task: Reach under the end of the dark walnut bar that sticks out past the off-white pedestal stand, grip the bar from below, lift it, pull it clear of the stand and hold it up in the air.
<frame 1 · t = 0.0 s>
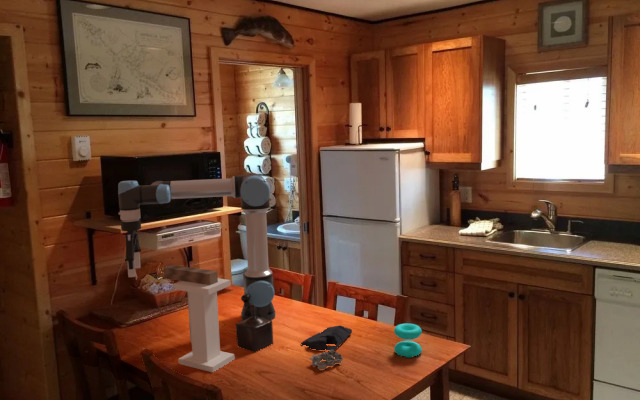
hand: (134, 272, 218), 28 cm above the table, tool pointing down, fingers open, 13 cm apart
walnut bar: (190, 280, 198), point 30 cm above the table, touching pedestal stand
pepper mill: (251, 343, 215), on the table
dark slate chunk: (328, 342, 216), on the table
paper towel roll: (202, 341, 218), on the table
pedestal stand: (206, 361, 199), on the table
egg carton: (326, 365, 194), on the table
donuts: (408, 353, 202), on the table
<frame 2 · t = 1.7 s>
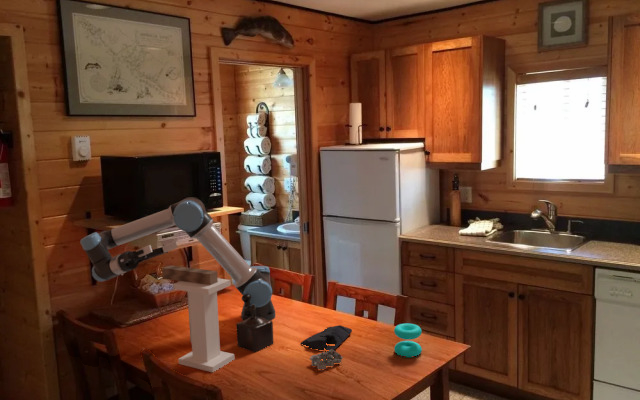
hand: (163, 246, 206), 41 cm above the table, tool pointing upward, fingers open, 13 cm apart
pepper mill: (251, 343, 215), on the table, touching arm
everything else where it was.
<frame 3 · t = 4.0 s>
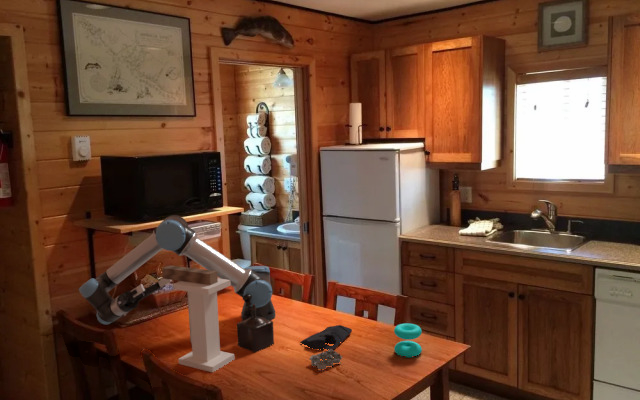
hand: (156, 282, 206), 27 cm above the table, tool pointing upward, fingers open, 13 cm apart
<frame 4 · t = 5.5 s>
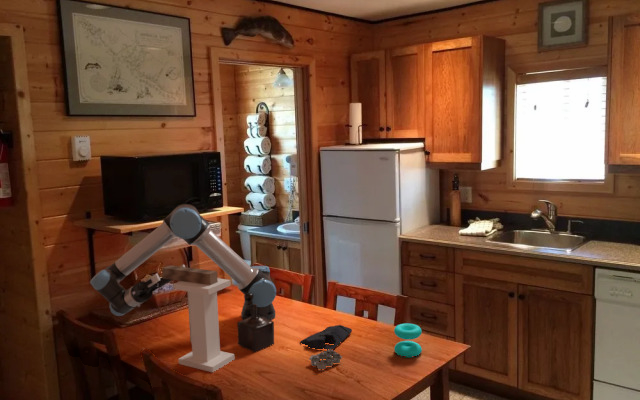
hand: (172, 272, 201), 32 cm above the table, tool pointing upward, fingers open, 13 cm apart
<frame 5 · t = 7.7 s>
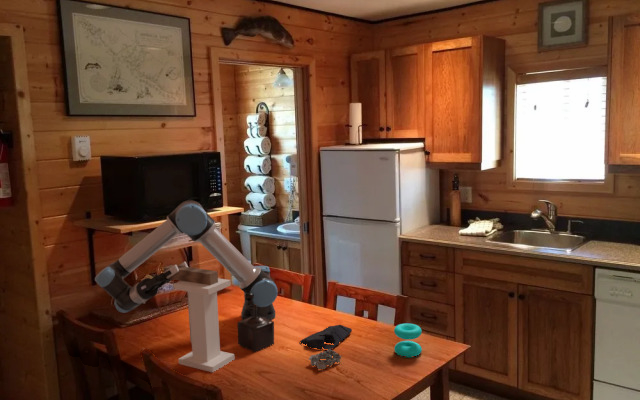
hand: (181, 266, 199), 35 cm above the table, tool pointing upward, fingers closed on walnut bar, 4 cm apart
walnut bar: (190, 280, 198), point 30 cm above the table, touching gripper, pedestal stand
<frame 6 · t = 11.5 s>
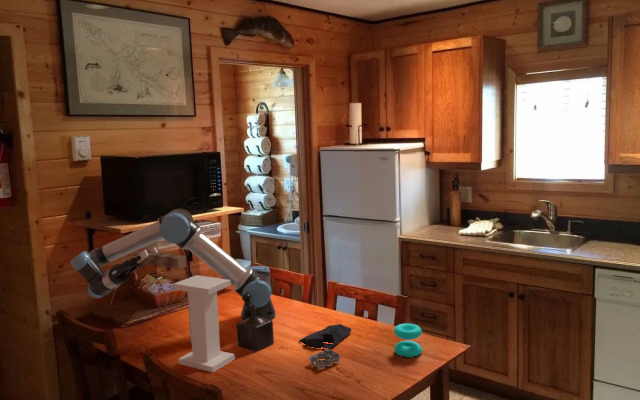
hand: (151, 251, 205), 39 cm above the table, tool pointing upward, fingers closed on walnut bar, 4 cm apart
walnut bar: (160, 264, 204), point 34 cm above the table, touching gripper
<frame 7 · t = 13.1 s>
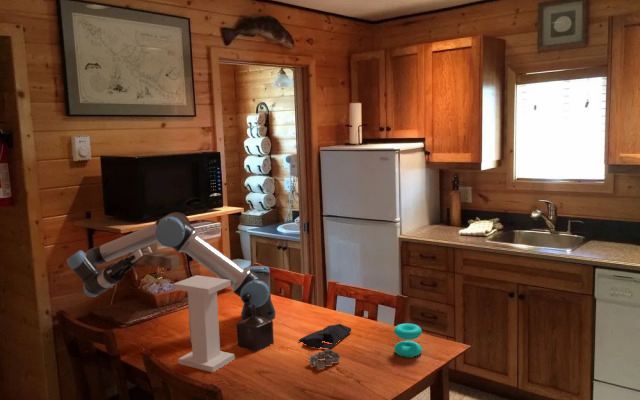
hand: (145, 251, 207), 39 cm above the table, tool pointing upward, fingers closed on walnut bar, 4 cm apart
walnut bar: (154, 264, 206), point 34 cm above the table, touching gripper
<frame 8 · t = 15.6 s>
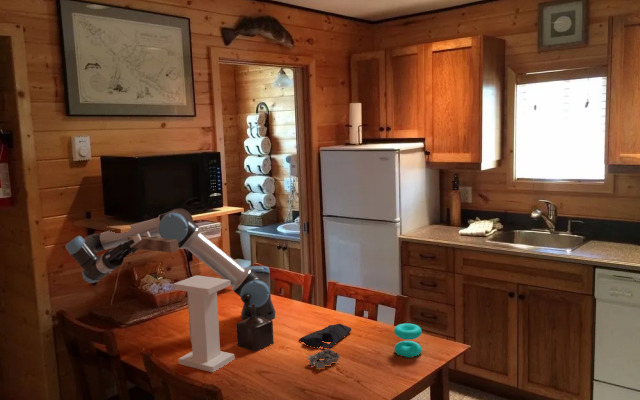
hand: (144, 235, 206), 45 cm above the table, tool pointing upward, fingers closed on walnut bar, 4 cm apart
walnut bar: (152, 248, 205), point 40 cm above the table, touching gripper
at the end: walnut bar touching gripper; walnut bar moved 20.5 cm from its start; walnut bar point 40.0 cm above the table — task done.
